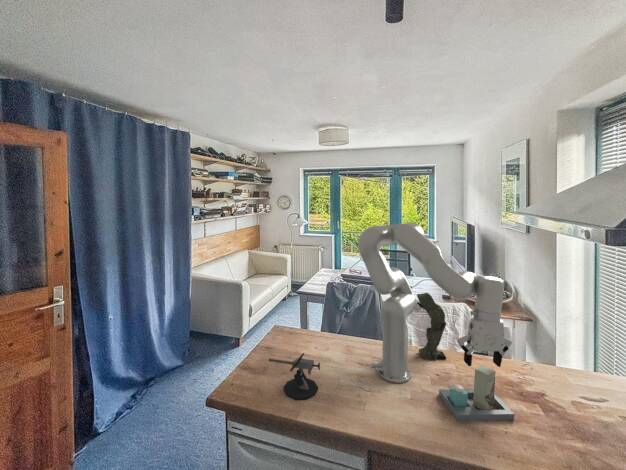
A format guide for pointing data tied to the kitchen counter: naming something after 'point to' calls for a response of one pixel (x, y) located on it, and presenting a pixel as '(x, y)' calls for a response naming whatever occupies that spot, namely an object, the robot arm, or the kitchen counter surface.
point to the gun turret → (300, 379)
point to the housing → (472, 413)
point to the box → (484, 388)
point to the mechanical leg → (432, 327)
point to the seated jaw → (458, 396)
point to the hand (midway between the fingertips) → (482, 364)
